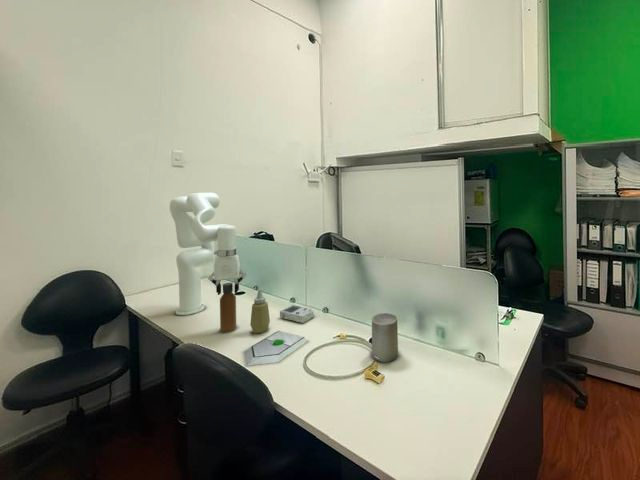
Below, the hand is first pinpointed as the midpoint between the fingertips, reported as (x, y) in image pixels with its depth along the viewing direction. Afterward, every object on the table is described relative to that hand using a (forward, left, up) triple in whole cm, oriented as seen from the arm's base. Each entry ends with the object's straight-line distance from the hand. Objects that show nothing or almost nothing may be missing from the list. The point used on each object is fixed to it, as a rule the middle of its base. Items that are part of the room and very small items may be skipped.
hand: (227, 292), depth 133 cm
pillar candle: (+42, +61, -17) cm, 76 cm away
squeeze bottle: (+6, +14, -17) cm, 23 cm away
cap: (0, 0, 0) cm, 0 cm away
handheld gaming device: (-3, +30, -17) cm, 34 cm away
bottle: (0, 0, -16) cm, 16 cm away
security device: (+25, +20, -17) cm, 36 cm away
